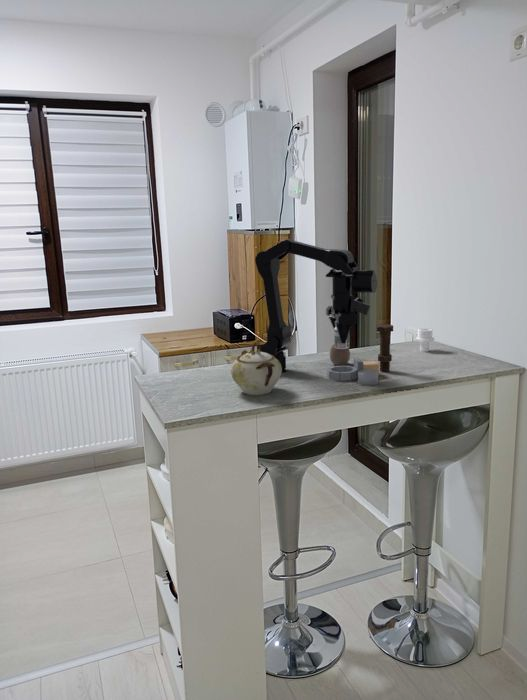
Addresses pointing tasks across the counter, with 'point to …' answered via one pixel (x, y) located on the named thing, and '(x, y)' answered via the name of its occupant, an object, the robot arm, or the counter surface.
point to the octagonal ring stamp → (350, 370)
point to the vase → (339, 356)
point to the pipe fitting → (424, 338)
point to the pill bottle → (338, 342)
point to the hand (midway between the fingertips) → (341, 341)
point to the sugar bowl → (256, 371)
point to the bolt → (384, 346)
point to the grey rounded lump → (367, 377)
